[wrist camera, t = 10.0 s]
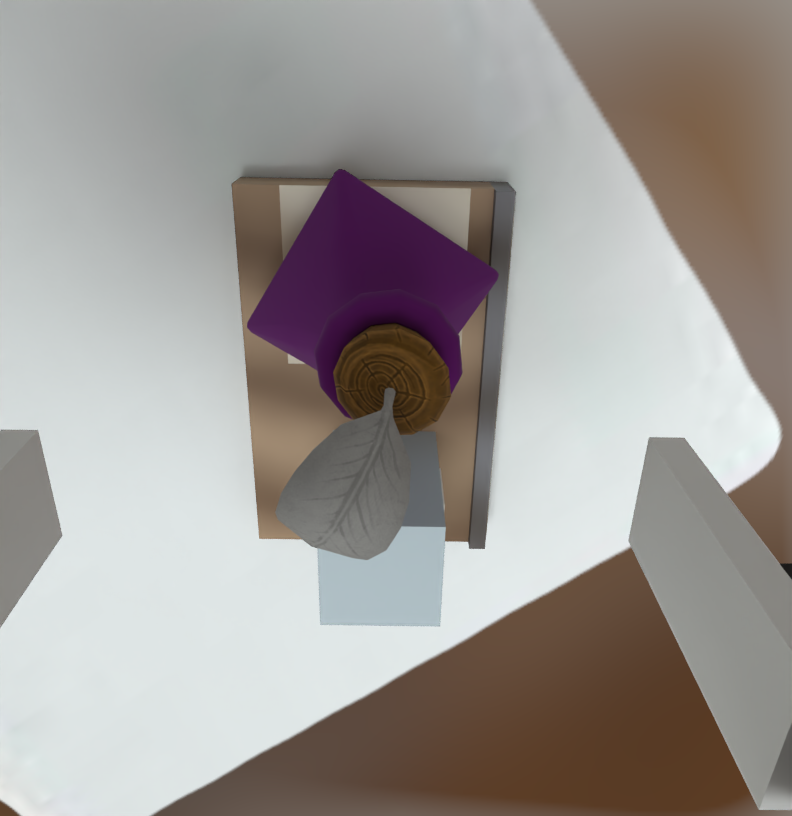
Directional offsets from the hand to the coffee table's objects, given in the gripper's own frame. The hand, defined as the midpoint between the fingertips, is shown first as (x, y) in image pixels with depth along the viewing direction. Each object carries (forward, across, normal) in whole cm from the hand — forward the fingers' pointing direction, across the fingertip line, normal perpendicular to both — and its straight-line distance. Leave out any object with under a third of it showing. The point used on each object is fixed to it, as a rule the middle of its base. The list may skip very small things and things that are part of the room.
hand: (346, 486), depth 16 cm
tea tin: (+18, +1, -10) cm, 20 cm away
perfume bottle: (+18, 0, 0) cm, 18 cm away
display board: (+20, 0, -6) cm, 20 cm away
